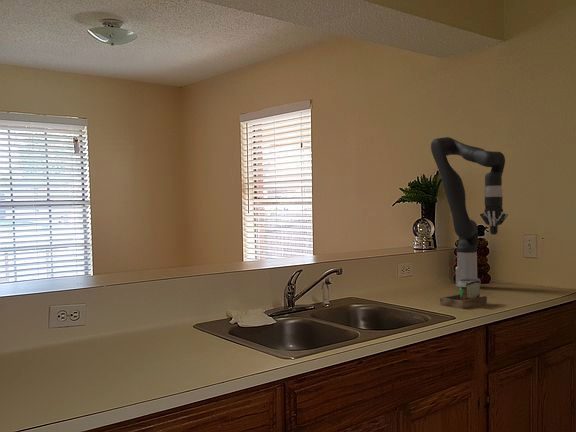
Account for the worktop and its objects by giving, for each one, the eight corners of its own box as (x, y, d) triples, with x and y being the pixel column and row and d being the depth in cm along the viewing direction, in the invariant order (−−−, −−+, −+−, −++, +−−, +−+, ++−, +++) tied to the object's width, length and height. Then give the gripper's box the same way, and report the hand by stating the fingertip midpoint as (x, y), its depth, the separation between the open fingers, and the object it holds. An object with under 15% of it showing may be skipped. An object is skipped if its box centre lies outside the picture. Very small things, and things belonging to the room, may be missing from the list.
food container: (467, 300, 227) (467, 277, 227) (481, 302, 222) (480, 278, 222) (452, 305, 219) (451, 280, 218) (466, 307, 214) (465, 282, 214)
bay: (440, 305, 219) (439, 297, 219) (463, 300, 229) (463, 293, 229) (463, 309, 211) (463, 301, 210) (486, 303, 220) (486, 296, 220)
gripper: (475, 196, 244) (476, 234, 244) (502, 195, 233) (502, 235, 234) (485, 196, 248) (485, 233, 249) (511, 195, 238) (512, 234, 238)
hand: (493, 234), depth 241 cm, fingers closed
